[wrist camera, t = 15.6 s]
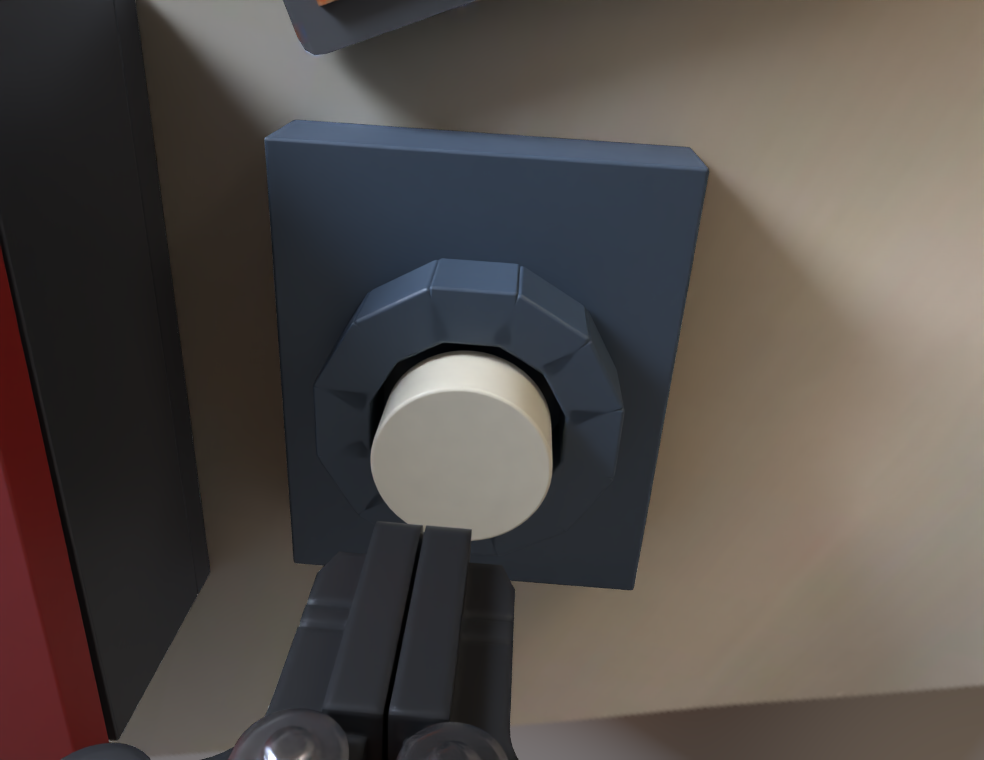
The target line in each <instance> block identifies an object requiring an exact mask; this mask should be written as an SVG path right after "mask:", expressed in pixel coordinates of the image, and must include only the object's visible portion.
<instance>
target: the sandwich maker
mask: <svg viewBox="0 0 984 760" xmlns="http://www.w3.org/2000/svg"><path fill="white" fill-rule="evenodd" d="M0 246H1V250H2V255H3V259H4V264H5V269H6V273H7V278H8V282H9V287H10V291H11V296H12V301H13V305H14V310H15V314H16V319H17V323H18V328H19V333H20V337H21V342H22V346H23V351H24V355H25V360H26V365H27V369H28V374H29V378H30V383H31V387H32V392H33V397H34V401H35V406H36V410H37V415H38V419H39V424H40V429H41V433H42V438H43V442H44V447H45V451H46V456H47V461H48V465H49V470H50V474H51V479H52V483H53V488H54V493H55V497H56V502H57V506H58V511H59V516H60V520H61V525H62V529H63V534H64V538H65V543H66V548H67V552H68V557H69V561H70V566H71V570H72V575H73V580H74V584H75V589H76V593H77V598H78V602H79V607H80V612H81V616H82V621H83V625H84V630H85V634H86V639H87V644H88V648H89V653H90V657H91V662H92V666H93V671H94V676H95V680H96V685H97V689H98V694H99V698H100V703H101V708H102V712H103V717H104V721H105V726H106V731H107V735H108V740H118V739H119V738H120V736H121V734H122V732H123V731H124V729H125V727H126V725H127V723H128V722H129V720H130V718H131V716H132V714H133V712H134V711H135V709H136V707H137V705H138V703H139V701H140V700H141V698H142V696H143V694H144V692H145V690H146V689H147V687H148V685H149V683H150V681H151V679H152V678H153V676H154V674H155V672H156V670H157V669H158V667H159V665H160V663H161V661H162V659H163V658H164V656H165V654H166V652H167V650H168V648H169V647H170V645H171V643H172V641H173V639H174V637H175V636H176V634H177V632H178V630H179V628H180V626H181V625H182V623H183V621H184V619H185V617H186V615H187V614H188V612H189V610H190V608H191V606H192V605H193V603H194V601H195V599H196V597H197V594H199V592H200V590H201V588H202V587H203V585H204V583H205V581H206V579H207V577H208V576H209V574H210V567H209V560H208V552H207V544H206V537H205V529H204V521H203V514H202V506H201V499H200V491H199V483H198V476H197V468H196V460H195V453H194V445H193V438H192V430H191V422H190V415H189V407H188V399H187V392H186V384H185V377H184V369H183V361H182V354H181V346H180V338H179V331H178V323H177V315H176V308H175V300H174V293H173V285H172V277H171V270H170V262H169V254H168V247H167V239H166V232H165V224H164V216H163V209H162V201H161V193H160V186H159V178H158V171H157V163H156V155H155V148H154V140H153V132H152V125H151V117H150V110H149V102H148V94H147V87H146V79H145V71H144V64H143V56H142V49H141V41H140V33H139V26H138V18H137V10H136V3H135V0H0Z"/></svg>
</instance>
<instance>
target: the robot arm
mask: <svg viewBox="0 0 984 760" xmlns="http://www.w3.org/2000/svg"><path fill="white" fill-rule="evenodd" d="M423 534H424V537H423ZM471 537H472V529H464V528H452V527H441V526H429V525H426V528H425V532H424V533H423V525H416V524H404V523H392V522H381V521H377V522H376V524H375V527H374V530H373V533H372V537H371V540H370V544H369V547H368V550H367V554H365V553H353V552H342V551H339V552H338V553H337V554H336V555H335V556H334V557H333V558H332V559H331V560H330V561H329V562H328V563H327V564H326V565H325V566H324V567H323V568H322V569H321V570H320V571H319V572H318V573H317V575H316V578H315V581H314V584H313V587H312V589H311V592H310V595H309V598H308V603H307V605H306V606H305V609H304V611H303V614H302V617H301V620H300V626H299V627H298V628H297V631H296V634H295V636H294V639H293V642H292V645H291V648H290V650H289V653H288V656H287V659H286V661H285V664H284V667H283V670H282V672H281V675H280V678H279V681H278V684H277V686H276V689H275V692H274V695H273V697H272V700H271V703H270V706H269V708H268V710H267V713H266V715H265V717H263V718H261V719H260V720H258V721H257V722H255V723H254V724H252V725H251V726H250V727H249V728H248V729H247V730H246V731H245V732H244V733H243V734H242V735H241V737H240V738H239V739H238V741H237V743H236V744H235V746H234V747H233V748H231V749H229V750H227V751H225V752H223V753H220V754H218V755H215V756H213V757H210V758H206V759H202V760H518V758H517V756H516V754H515V752H514V749H513V747H512V743H511V738H510V711H511V684H512V657H513V629H514V602H515V589H514V587H513V585H512V583H511V581H510V579H509V577H508V575H507V573H506V572H505V570H504V568H503V566H502V565H493V564H482V563H470V552H471ZM60 760H150V758H149V757H148V756H147V755H146V754H145V753H144V752H143V751H141V750H139V749H138V748H136V747H133V746H130V745H127V744H121V743H103V744H97V745H93V746H89V747H85V748H82V749H80V750H78V751H75V752H73V753H71V754H69V755H67V756H65V757H64V758H62V759H60Z"/></svg>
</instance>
